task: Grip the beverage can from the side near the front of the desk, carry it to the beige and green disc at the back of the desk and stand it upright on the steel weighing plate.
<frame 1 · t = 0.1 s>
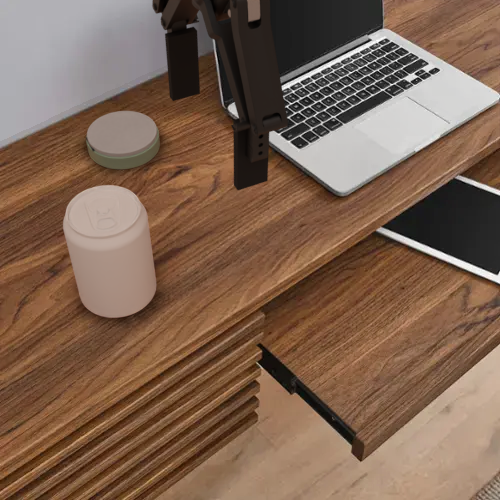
hand: (215, 136, 66), 21 cm above the table, tool pointing down, fingers open, 13 cm apart
beverage can: (119, 293, 81), on the table
beige and green disc: (124, 146, 98), on the table
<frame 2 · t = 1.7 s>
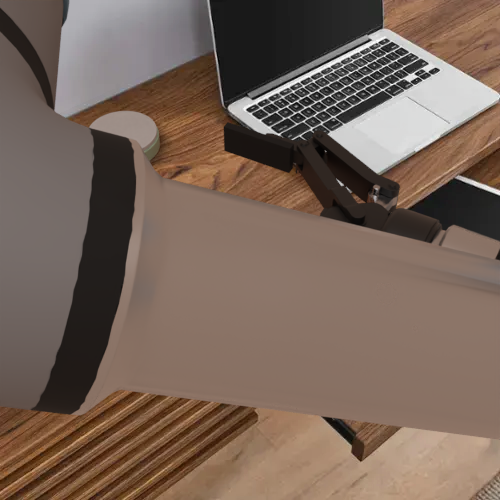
hand: (185, 181, 64), 20 cm above the table, tool horizontal, fingers open, 13 cm apart
nothing on the table moved.
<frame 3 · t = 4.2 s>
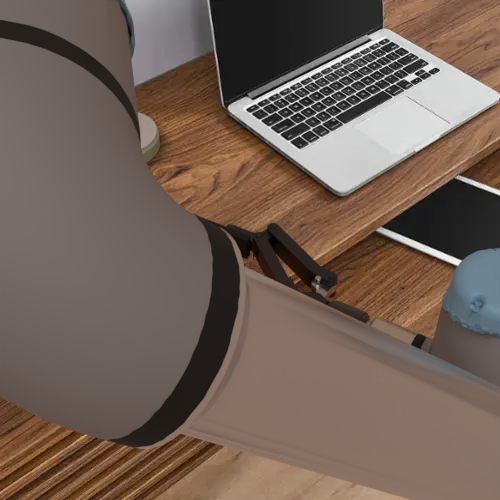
hand: (156, 268, 75), 6 cm above the table, tool horizontal, fingers open, 13 cm apart
nothing on the table moved.
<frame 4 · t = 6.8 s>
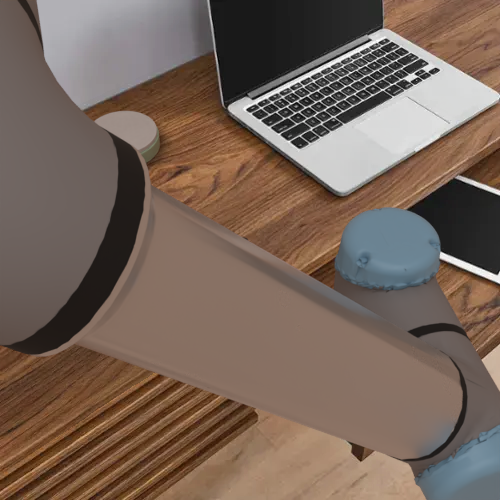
hand: (72, 232, 78), 7 cm above the table, tool horizontal, fingers closed on beverage can, 8 cm apart
beverage can: (118, 293, 81), on the table, touching gripper
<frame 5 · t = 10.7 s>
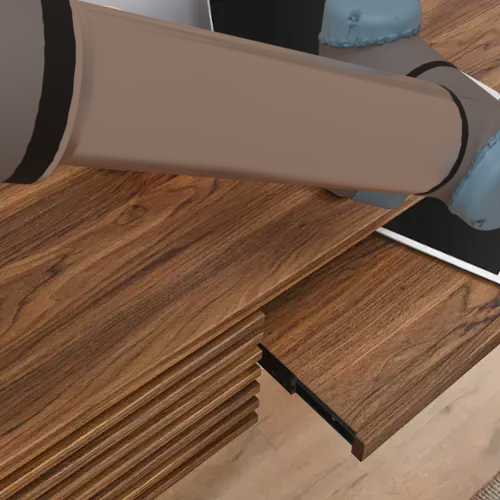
hand: (66, 58, 79), 18 cm above the table, tool horizontal, fingers closed on beverage can, 8 cm apart
beverage can: (111, 125, 83), point 11 cm above the table, touching gripper
when the fingers open (9 cm above the table, at t = 15.0 s): beverage can stays where it is, resting on beige and green disc.
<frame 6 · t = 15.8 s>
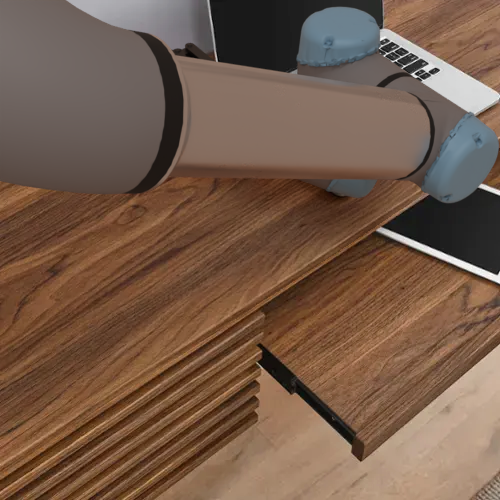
hand: (93, 74, 92), 10 cm above the table, tool horizontal, fingers open, 13 cm apart
beverage can: (121, 132, 97), point 2 cm above the table, touching beige and green disc
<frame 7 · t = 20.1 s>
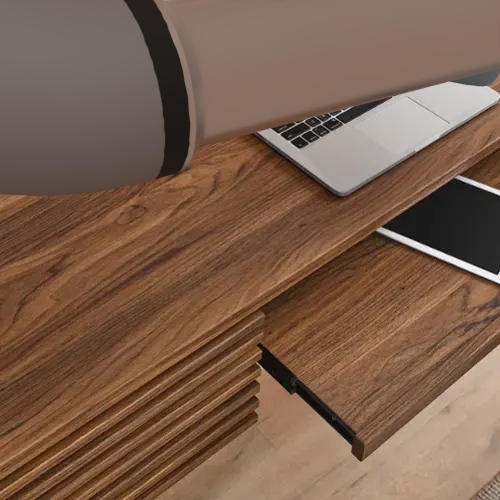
nothing on the table moved.
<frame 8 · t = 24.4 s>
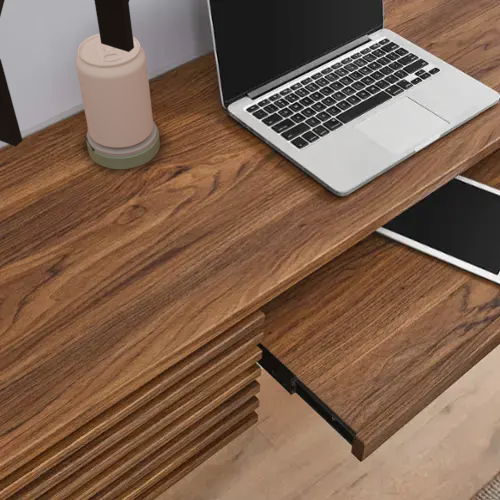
hand: (65, 89, 57), 29 cm above the table, tool pointing down, fingers open, 13 cm apart
nothing on the table moved.
at the end: beverage can 0.1 cm off-centre on the beige and green disc, point 2.2 cm above the beige and green disc's base; beverage can tilted 0°; the gripper is holding nothing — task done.
